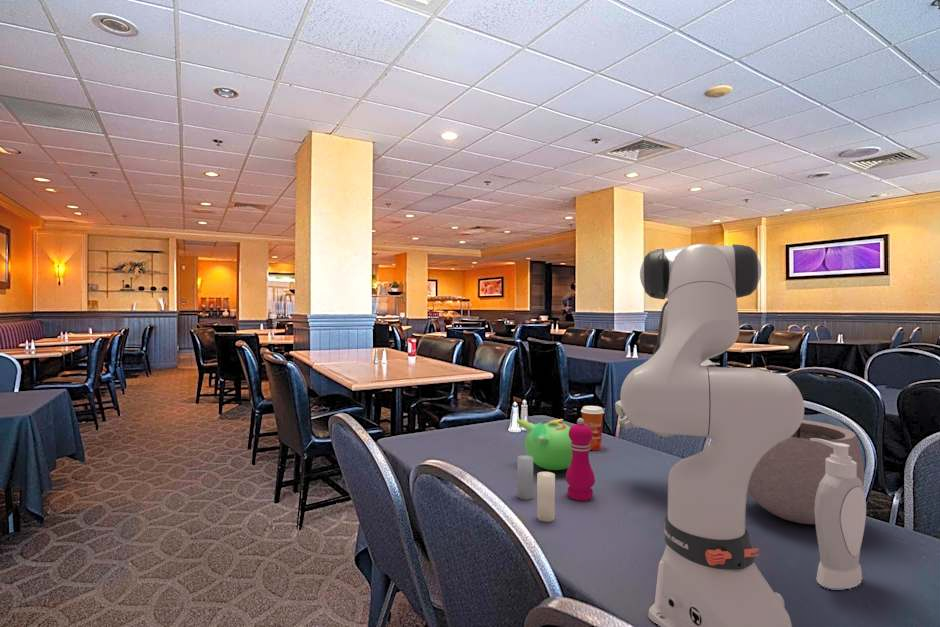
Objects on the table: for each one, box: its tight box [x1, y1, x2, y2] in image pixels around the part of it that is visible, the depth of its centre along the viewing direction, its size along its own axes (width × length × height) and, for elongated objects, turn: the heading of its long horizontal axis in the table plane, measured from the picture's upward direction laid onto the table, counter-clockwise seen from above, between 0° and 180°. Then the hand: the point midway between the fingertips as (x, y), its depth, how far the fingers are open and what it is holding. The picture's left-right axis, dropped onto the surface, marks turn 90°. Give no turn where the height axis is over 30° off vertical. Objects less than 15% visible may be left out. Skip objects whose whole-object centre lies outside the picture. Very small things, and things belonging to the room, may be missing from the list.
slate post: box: [516, 454, 534, 501], centre depth 126 cm, size 4×4×10 cm
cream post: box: [536, 471, 556, 523], centre depth 113 cm, size 4×4×10 cm
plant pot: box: [747, 387, 865, 525], centre depth 113 cm, size 24×24×30 cm
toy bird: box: [516, 418, 572, 471], centre depth 148 cm, size 18×17×15 cm
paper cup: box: [580, 405, 605, 451], centre depth 168 cm, size 8×8×14 cm
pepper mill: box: [565, 417, 596, 501], centre depth 126 cm, size 7×7×20 cm
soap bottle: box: [810, 438, 867, 588], centre depth 88 cm, size 13×8×24 cm, turn 115°
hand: (622, 424), depth 127 cm, fingers closed
